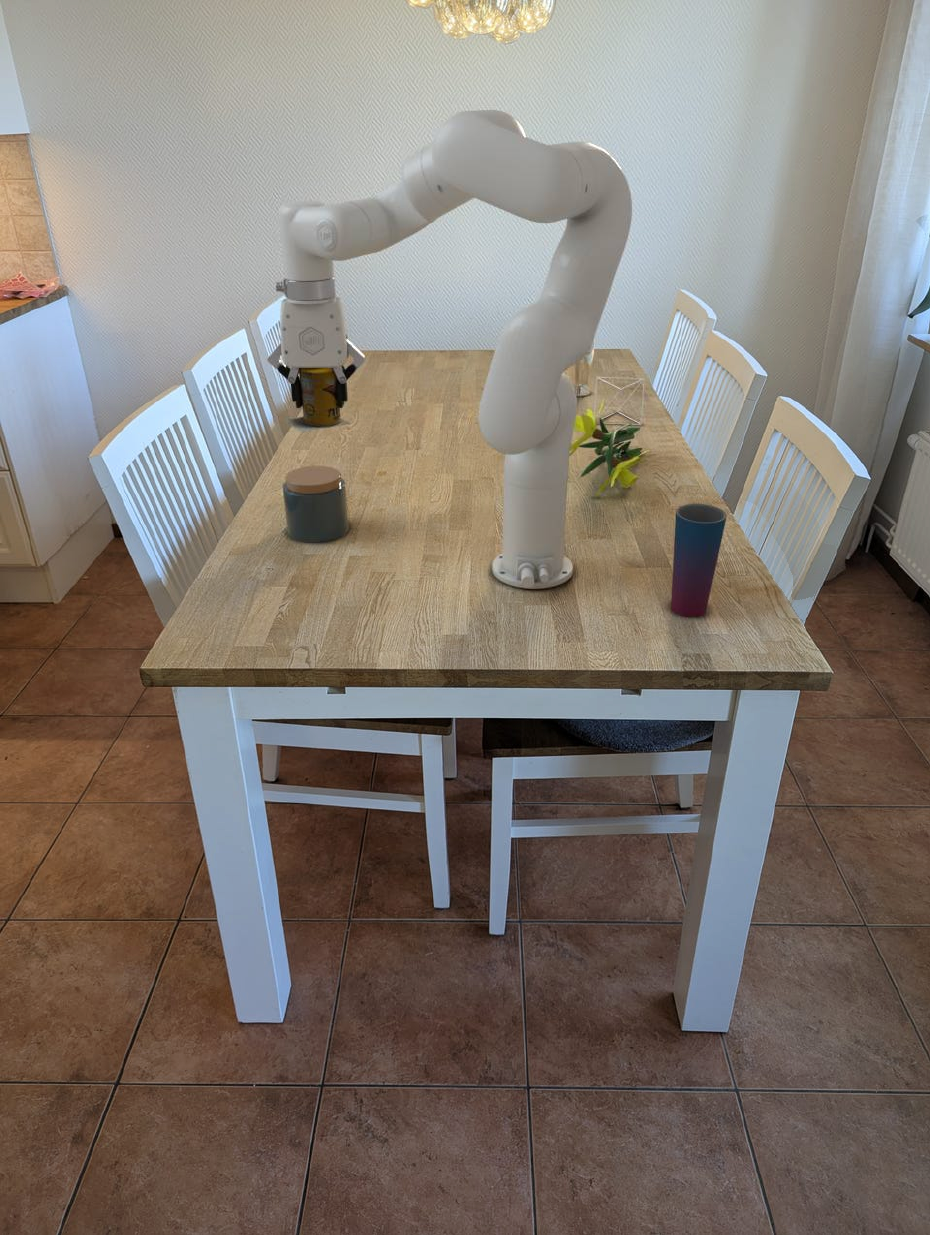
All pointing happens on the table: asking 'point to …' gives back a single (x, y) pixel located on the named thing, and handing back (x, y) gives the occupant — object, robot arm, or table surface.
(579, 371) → the beer glass
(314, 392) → the yellow coffee bottle
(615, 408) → the geometric polyhedron
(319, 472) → the blue jar
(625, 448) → the daffodil flowers
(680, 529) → the cup
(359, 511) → the table surface
